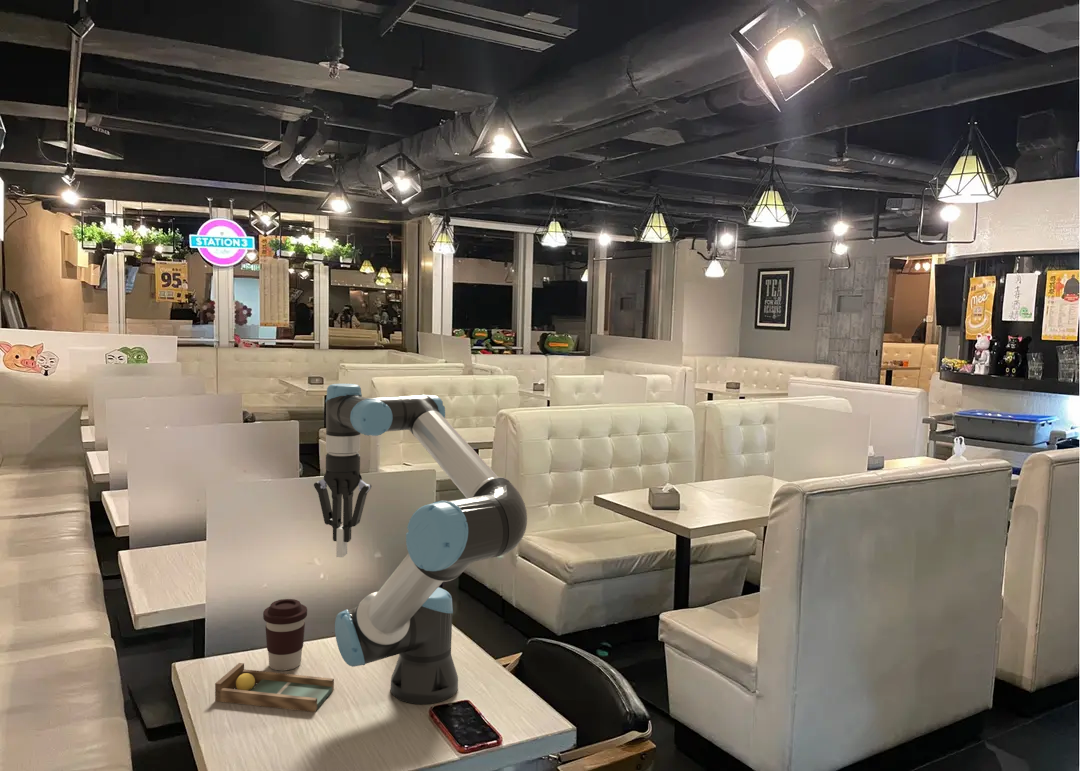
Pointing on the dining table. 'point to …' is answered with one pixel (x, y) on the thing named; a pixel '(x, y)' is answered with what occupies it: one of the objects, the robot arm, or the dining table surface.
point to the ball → (245, 682)
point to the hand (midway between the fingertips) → (341, 555)
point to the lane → (275, 690)
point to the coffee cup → (285, 633)
